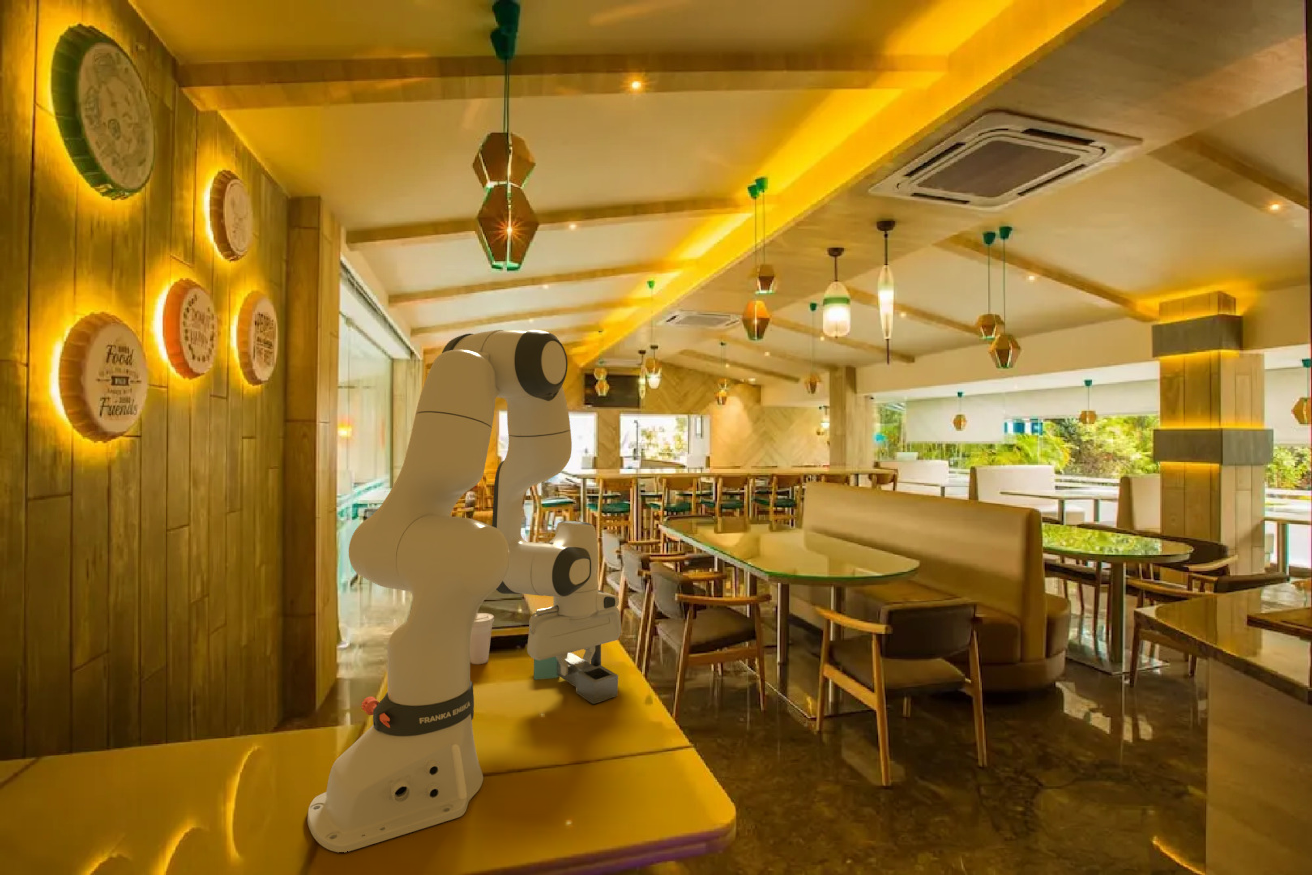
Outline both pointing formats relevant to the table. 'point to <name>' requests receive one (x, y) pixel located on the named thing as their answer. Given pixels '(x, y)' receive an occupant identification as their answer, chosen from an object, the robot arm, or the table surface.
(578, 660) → the link
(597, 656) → the pintle
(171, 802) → the table surface
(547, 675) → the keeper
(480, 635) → the smoothie
